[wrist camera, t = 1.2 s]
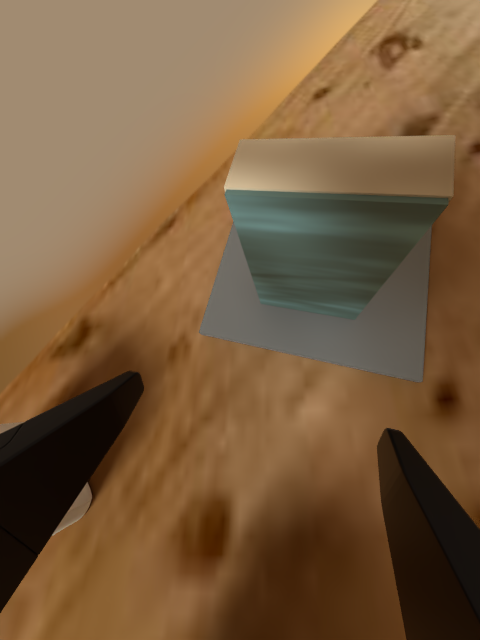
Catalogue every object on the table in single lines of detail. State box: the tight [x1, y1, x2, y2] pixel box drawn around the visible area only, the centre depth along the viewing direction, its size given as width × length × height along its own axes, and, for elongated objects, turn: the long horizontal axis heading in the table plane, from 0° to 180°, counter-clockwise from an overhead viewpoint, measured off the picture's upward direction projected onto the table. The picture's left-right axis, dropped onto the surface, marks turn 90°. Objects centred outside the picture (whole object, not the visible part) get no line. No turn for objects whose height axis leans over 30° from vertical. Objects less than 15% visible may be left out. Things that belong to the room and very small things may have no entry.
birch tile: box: [224, 135, 455, 320], centre depth 17 cm, size 3×9×14 cm, turn 76°
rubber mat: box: [199, 221, 432, 382], centre depth 25 cm, size 24×20×1 cm
